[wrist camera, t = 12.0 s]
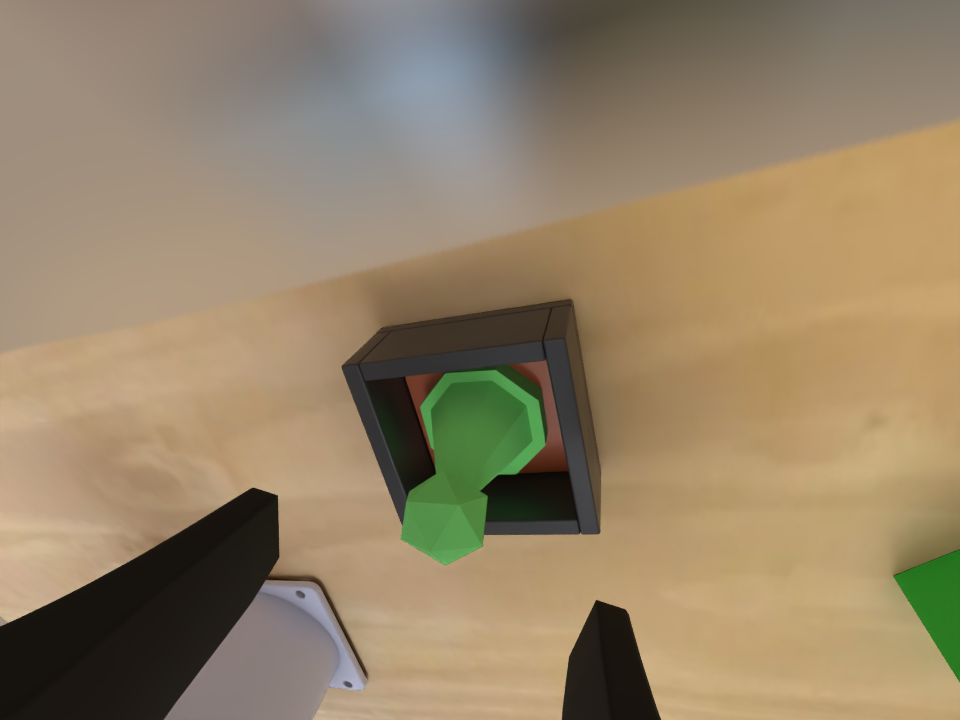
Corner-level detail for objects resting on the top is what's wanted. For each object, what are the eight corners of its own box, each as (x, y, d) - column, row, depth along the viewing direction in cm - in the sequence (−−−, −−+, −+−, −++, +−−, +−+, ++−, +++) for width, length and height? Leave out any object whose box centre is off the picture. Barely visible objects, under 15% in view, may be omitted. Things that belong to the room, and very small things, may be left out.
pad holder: (432, 479, 19) (405, 536, 17) (380, 327, 17) (339, 366, 14) (601, 472, 17) (600, 535, 15) (572, 298, 15) (565, 337, 12)
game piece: (574, 439, 16) (559, 594, 11) (470, 479, 18) (414, 628, 13) (506, 334, 15) (453, 450, 10) (402, 387, 17) (311, 510, 12)
